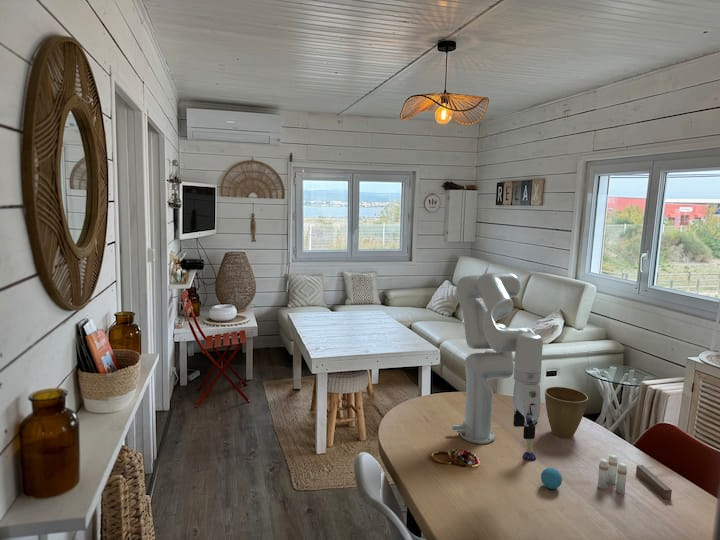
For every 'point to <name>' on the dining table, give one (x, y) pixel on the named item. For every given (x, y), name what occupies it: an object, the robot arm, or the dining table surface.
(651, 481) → the back rail
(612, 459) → the pin
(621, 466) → the pin
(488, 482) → the dining table surface
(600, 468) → the front pin
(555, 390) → the plant pot
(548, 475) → the ball
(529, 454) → the toy lamp
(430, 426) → the dining table surface
